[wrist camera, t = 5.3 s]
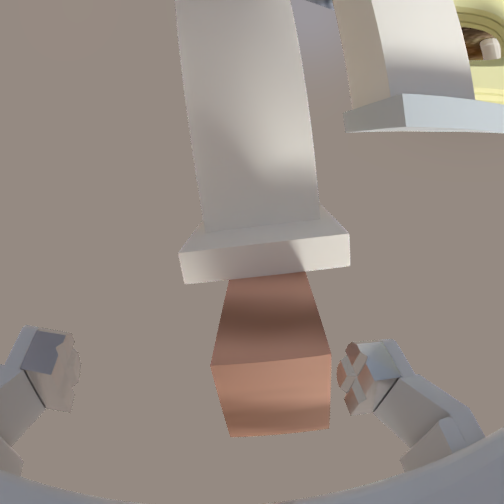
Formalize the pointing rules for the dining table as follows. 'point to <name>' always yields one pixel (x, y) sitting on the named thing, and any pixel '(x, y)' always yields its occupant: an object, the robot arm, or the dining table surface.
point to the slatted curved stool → (500, 26)
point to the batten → (272, 357)
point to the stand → (303, 120)
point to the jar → (490, 49)
